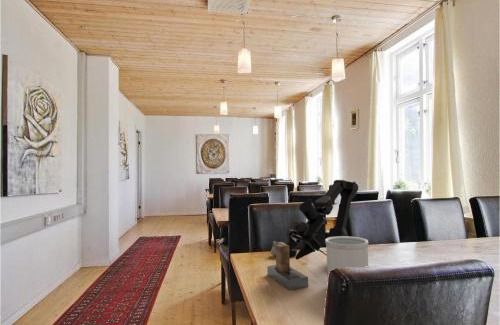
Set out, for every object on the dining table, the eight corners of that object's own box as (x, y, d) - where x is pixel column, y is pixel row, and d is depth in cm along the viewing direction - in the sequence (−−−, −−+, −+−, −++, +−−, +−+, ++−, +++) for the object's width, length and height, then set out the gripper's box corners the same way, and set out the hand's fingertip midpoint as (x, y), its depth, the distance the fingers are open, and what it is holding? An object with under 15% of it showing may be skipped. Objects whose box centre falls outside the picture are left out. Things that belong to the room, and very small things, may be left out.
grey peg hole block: (267, 274, 125) (267, 265, 125) (284, 272, 128) (284, 263, 128) (289, 290, 108) (289, 280, 108) (308, 286, 111) (308, 276, 111)
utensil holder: (319, 284, 114) (317, 237, 114) (353, 279, 118) (352, 234, 118) (341, 300, 99) (339, 246, 100) (379, 294, 103) (377, 242, 104)
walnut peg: (285, 275, 124) (284, 243, 124) (290, 278, 120) (289, 245, 120) (276, 277, 122) (275, 244, 122) (281, 280, 118) (280, 246, 119)
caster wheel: (297, 259, 155) (290, 261, 147) (277, 252, 161) (269, 253, 152) (300, 246, 156) (293, 247, 147) (280, 239, 161) (273, 240, 153)
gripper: (289, 210, 134) (267, 238, 129) (313, 216, 116) (288, 248, 112) (305, 227, 136) (284, 254, 132) (330, 234, 119) (307, 267, 115)
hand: (290, 255), depth 123 cm, fingers open, 9 cm apart
